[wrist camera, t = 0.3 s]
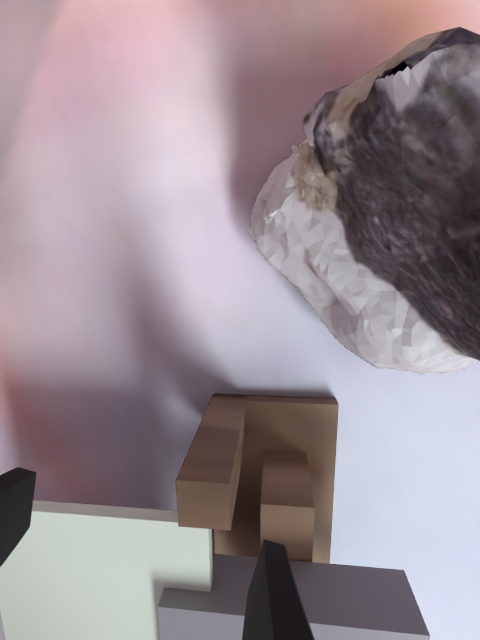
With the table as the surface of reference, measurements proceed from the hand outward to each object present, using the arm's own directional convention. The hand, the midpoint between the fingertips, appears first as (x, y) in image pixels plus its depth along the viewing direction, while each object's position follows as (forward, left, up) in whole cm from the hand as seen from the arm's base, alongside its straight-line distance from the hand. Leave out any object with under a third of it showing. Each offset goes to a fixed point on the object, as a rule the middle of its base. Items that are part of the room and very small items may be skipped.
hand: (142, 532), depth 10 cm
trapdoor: (-8, -1, -5) cm, 9 cm away
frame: (-8, -4, -10) cm, 13 cm away
